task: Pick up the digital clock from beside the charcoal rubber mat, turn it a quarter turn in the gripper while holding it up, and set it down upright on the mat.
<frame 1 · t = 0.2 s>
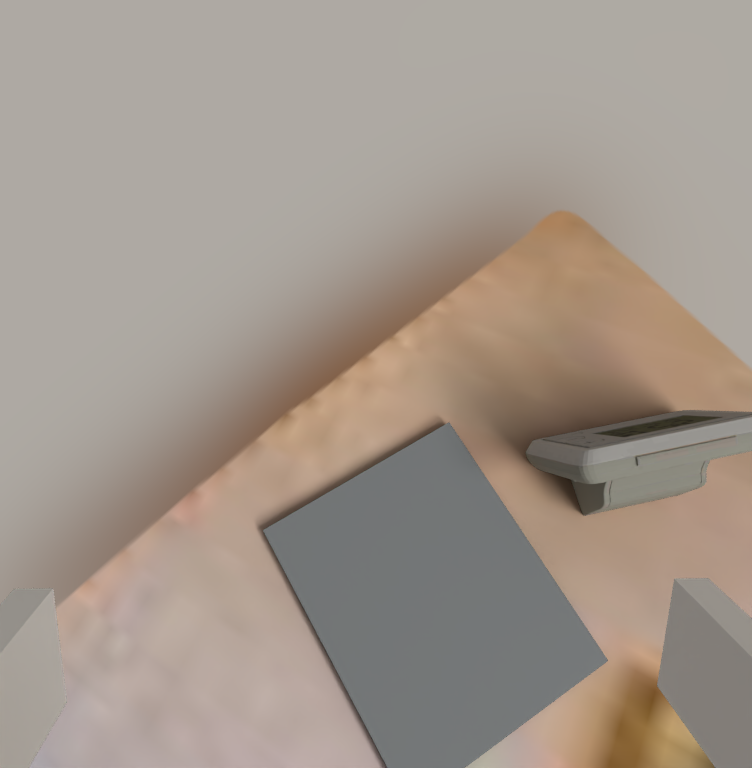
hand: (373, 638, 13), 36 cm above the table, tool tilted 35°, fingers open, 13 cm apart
mat: (430, 594, 47), on the table
digital clock: (613, 459, 52), on the table
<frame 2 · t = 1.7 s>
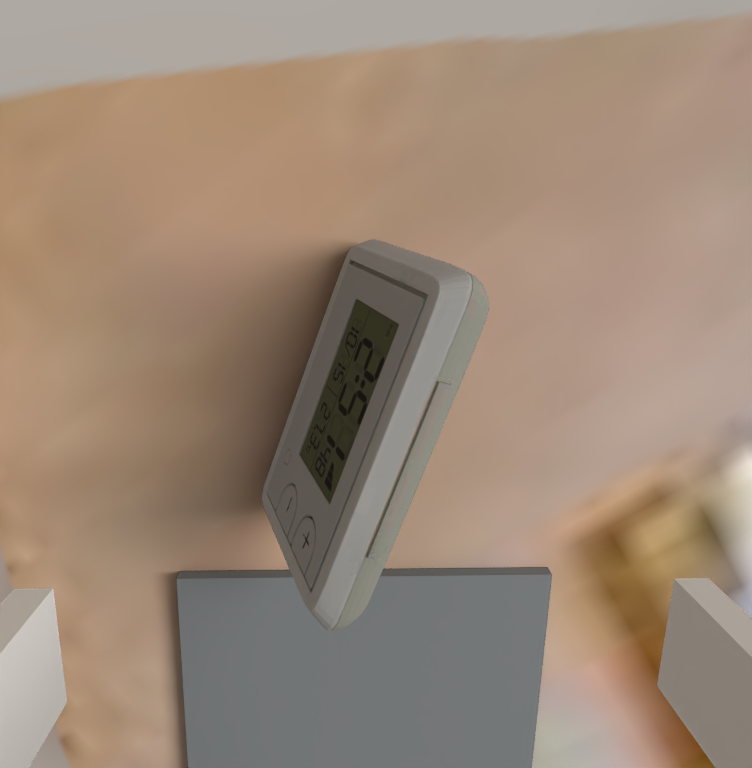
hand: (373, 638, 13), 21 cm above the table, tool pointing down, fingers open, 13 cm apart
mat: (364, 696, 38), on the table
digital clock: (352, 388, 33), on the table
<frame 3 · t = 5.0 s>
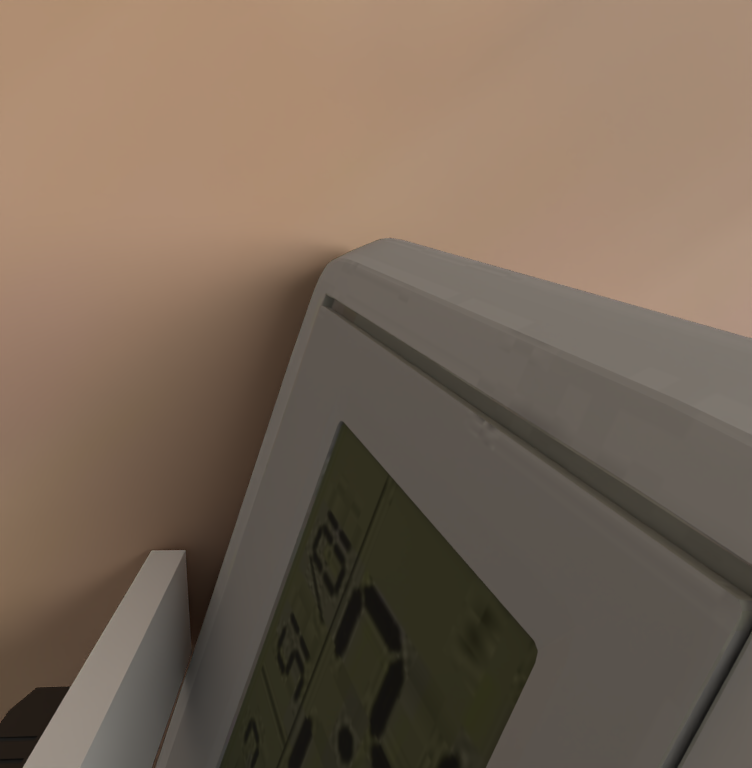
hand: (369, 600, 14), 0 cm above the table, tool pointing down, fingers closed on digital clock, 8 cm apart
digital clock: (342, 580, 14), on the table, touching gripper
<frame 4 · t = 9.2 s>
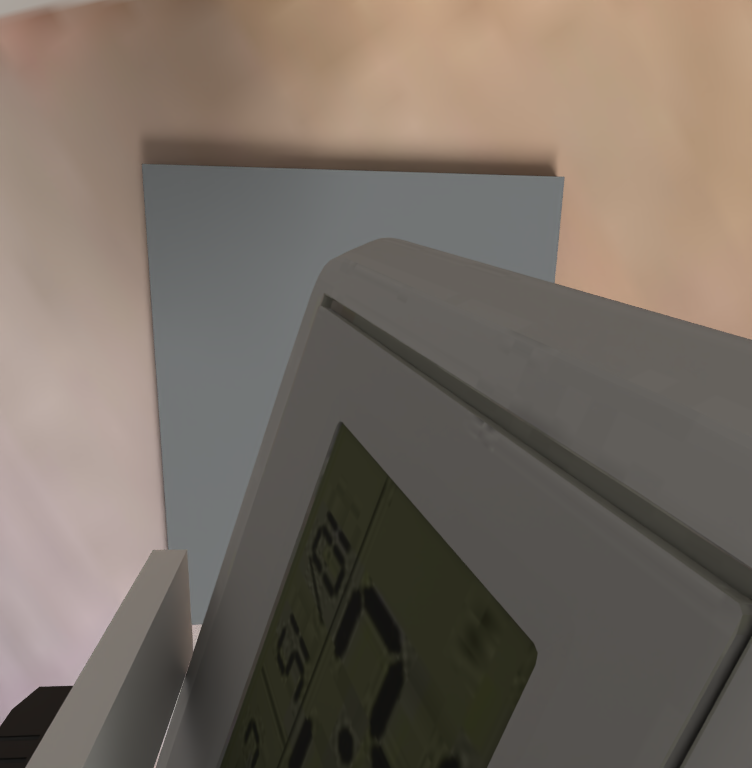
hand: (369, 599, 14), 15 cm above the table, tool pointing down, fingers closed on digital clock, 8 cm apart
mat: (354, 412, 29), on the table
digital clock: (341, 579, 14), point 15 cm above the table, touching gripper
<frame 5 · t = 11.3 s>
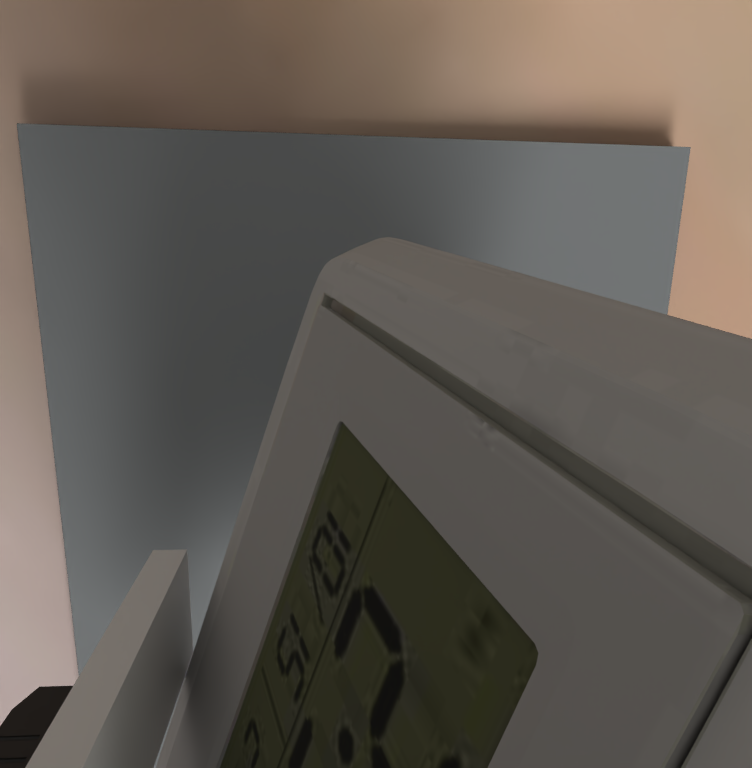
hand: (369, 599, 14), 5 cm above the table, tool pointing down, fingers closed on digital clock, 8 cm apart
mat: (359, 503, 19), on the table
digital clock: (342, 579, 14), point 5 cm above the table, touching gripper
when the fingers open (2 cm above the table, at t = 13.0 s): digital clock drops 1 cm, resting on mat.
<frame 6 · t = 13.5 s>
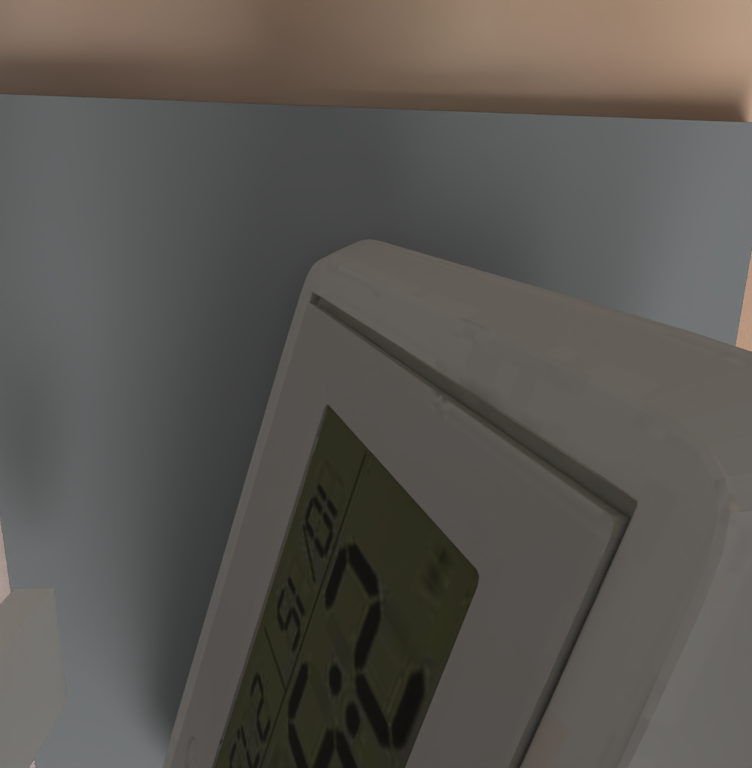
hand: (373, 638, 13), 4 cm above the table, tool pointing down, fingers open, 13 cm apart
mat: (365, 549, 16), on the table
digital clock: (338, 556, 16), point 1 cm above the table, touching mat
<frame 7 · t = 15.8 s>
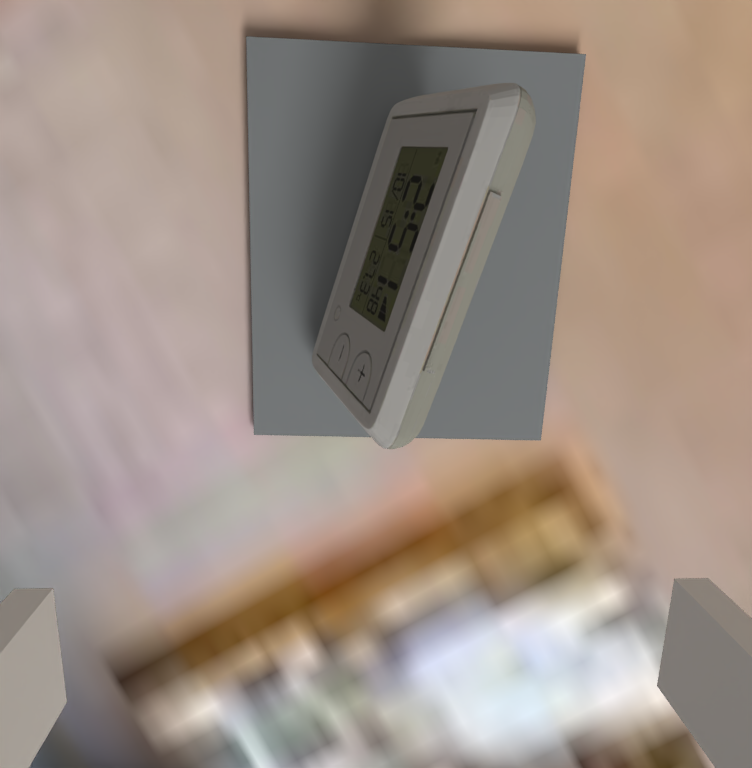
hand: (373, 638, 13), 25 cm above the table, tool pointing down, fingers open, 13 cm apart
mat: (406, 257, 35), on the table
digital clock: (395, 254, 34), point 1 cm above the table, touching mat
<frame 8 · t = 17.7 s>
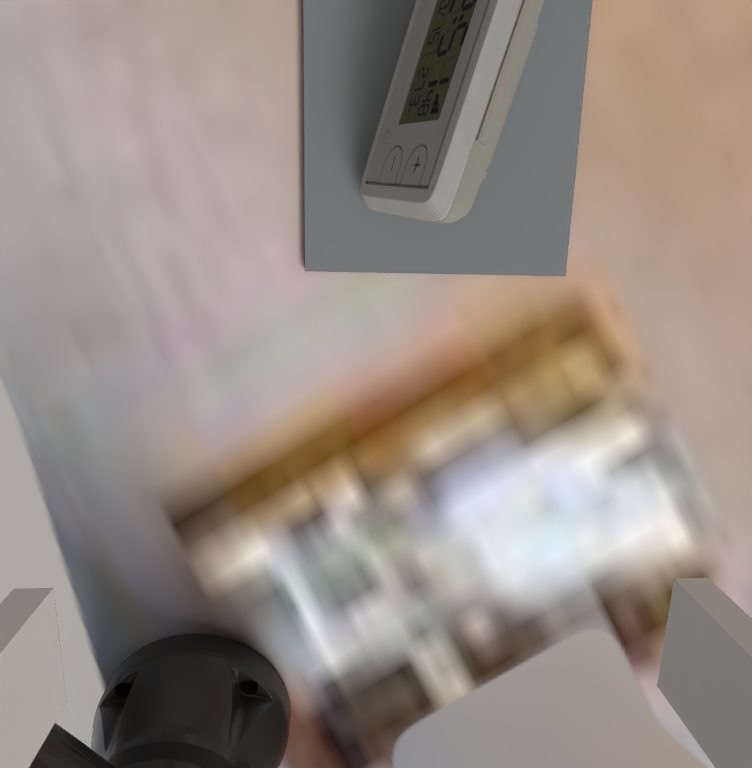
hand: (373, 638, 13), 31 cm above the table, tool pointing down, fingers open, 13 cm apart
mat: (443, 102, 39), on the table
digital clock: (433, 96, 38), point 1 cm above the table, touching mat
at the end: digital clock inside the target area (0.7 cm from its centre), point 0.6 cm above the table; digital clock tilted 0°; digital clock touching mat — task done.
